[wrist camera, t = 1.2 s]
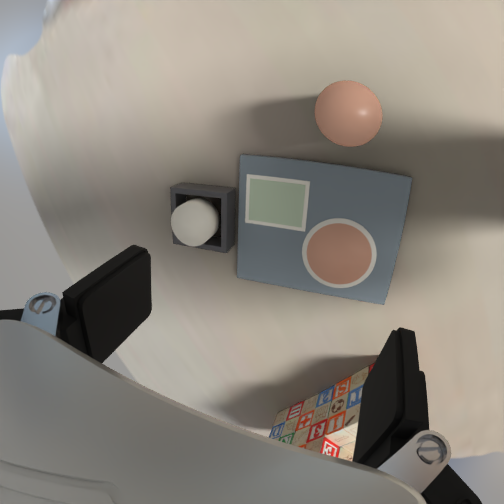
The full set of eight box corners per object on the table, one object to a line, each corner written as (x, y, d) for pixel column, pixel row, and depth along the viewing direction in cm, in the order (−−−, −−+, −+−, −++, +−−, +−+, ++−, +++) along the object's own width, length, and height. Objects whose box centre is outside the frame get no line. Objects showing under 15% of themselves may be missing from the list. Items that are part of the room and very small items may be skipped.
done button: (220, 200, 33) (210, 206, 31) (219, 241, 35) (210, 249, 33) (181, 195, 34) (169, 201, 32) (182, 234, 36) (172, 242, 34)
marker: (376, 95, 26) (384, 85, 18) (372, 142, 28) (378, 151, 20) (328, 89, 27) (316, 77, 19) (325, 135, 29) (312, 142, 21)
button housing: (235, 187, 34) (226, 193, 32) (234, 244, 37) (226, 253, 35) (181, 182, 36) (170, 187, 34) (183, 236, 38) (173, 243, 36)
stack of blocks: (387, 351, 36) (386, 430, 26) (413, 377, 36) (416, 453, 26) (276, 412, 47) (252, 474, 36) (303, 431, 47) (284, 492, 37)
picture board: (410, 176, 28) (412, 178, 27) (383, 300, 34) (384, 305, 33) (242, 154, 32) (239, 155, 31) (239, 274, 38) (236, 278, 37)
